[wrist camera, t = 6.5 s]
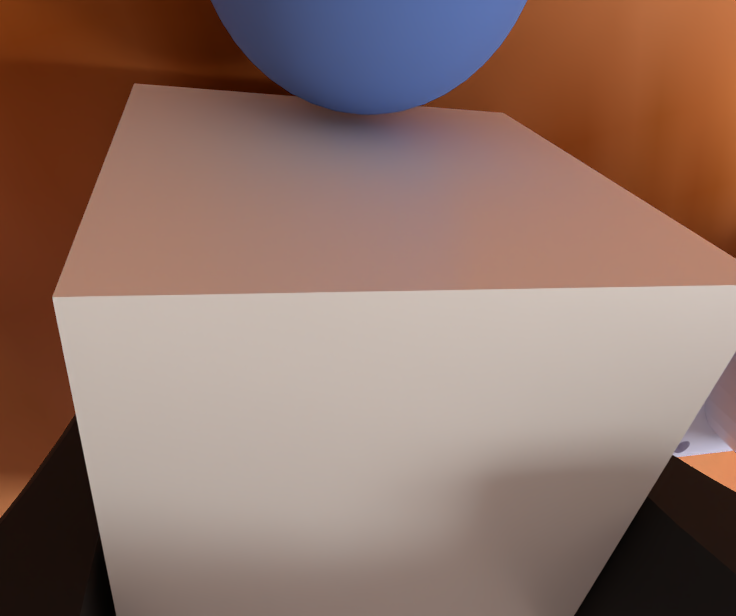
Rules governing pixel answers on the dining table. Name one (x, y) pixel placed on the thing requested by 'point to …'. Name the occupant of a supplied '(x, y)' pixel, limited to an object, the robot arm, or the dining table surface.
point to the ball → (368, 47)
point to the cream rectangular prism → (373, 359)
